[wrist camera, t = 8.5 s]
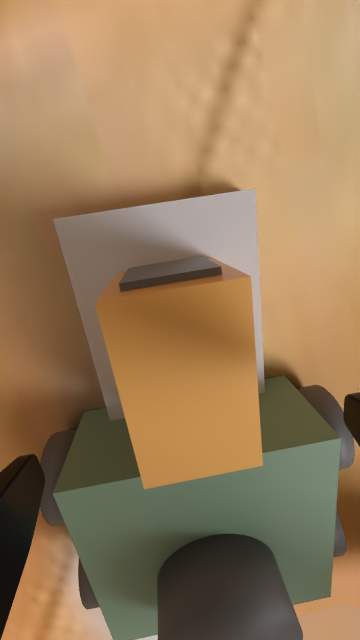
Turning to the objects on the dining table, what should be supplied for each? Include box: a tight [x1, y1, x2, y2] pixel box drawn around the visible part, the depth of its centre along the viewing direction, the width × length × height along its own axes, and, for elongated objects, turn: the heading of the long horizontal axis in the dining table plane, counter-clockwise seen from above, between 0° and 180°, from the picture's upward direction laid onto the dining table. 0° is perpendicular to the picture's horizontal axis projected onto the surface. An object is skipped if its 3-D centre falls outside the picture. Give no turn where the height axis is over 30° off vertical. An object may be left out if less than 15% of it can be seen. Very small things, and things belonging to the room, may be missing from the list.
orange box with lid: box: [95, 256, 263, 489], centre depth 13 cm, size 5×8×6 cm, turn 8°
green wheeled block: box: [40, 189, 355, 640], centre depth 14 cm, size 17×25×9 cm
